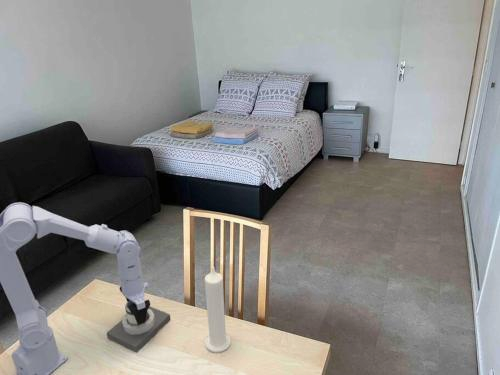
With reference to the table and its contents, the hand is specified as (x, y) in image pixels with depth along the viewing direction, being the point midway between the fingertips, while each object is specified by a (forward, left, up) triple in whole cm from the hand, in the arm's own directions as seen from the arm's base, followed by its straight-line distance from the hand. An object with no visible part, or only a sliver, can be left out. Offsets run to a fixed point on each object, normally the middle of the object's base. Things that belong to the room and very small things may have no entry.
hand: (137, 314), depth 108 cm
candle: (+6, -23, -5) cm, 24 cm away
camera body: (0, 0, -5) cm, 5 cm away
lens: (0, 0, -3) cm, 3 cm away
